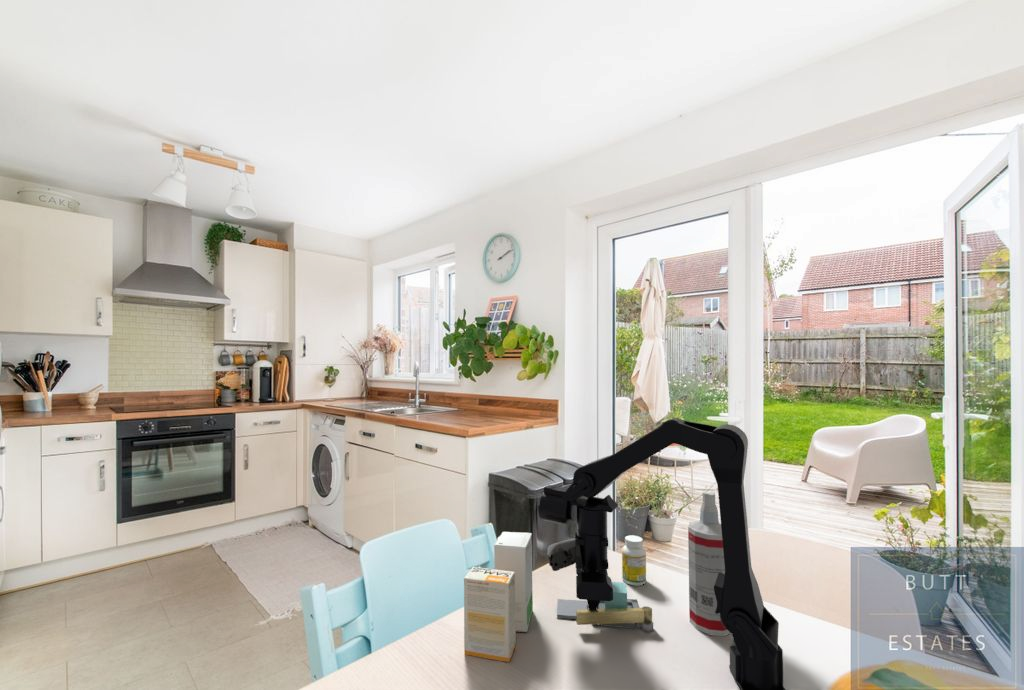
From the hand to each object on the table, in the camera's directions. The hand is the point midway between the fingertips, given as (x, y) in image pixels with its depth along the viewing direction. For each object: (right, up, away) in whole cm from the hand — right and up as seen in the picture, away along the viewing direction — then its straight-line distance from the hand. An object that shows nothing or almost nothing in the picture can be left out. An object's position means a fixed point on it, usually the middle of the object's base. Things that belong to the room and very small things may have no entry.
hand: (592, 612), depth 85 cm
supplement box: (-19, -3, -7) cm, 21 cm away
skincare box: (-15, -3, +2) cm, 15 cm away
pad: (-3, -3, +5) cm, 7 cm away
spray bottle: (+23, -3, +1) cm, 23 cm away
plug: (+5, -3, +3) cm, 7 cm away
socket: (+5, -3, +3) cm, 7 cm away
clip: (+4, -1, -1) cm, 4 cm away
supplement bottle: (+13, -4, +18) cm, 23 cm away
